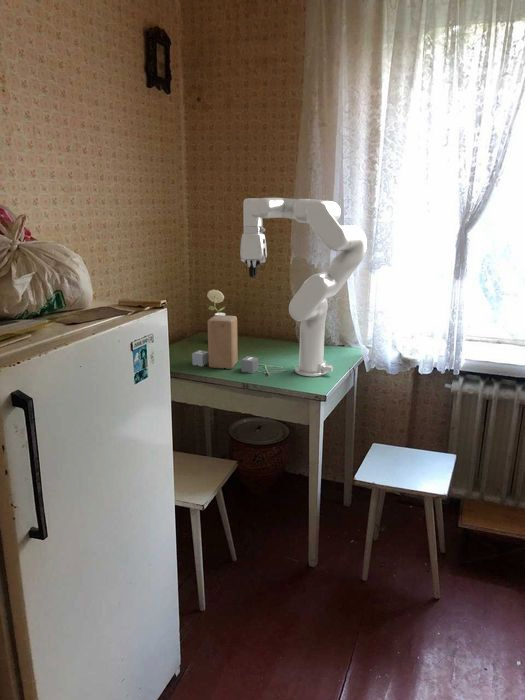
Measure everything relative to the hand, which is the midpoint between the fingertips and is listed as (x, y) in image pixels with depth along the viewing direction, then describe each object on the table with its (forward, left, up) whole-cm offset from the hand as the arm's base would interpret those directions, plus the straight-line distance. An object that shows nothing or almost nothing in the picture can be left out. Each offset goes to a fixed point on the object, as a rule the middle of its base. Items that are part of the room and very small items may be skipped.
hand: (253, 276), depth 212 cm
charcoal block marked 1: (-6, +14, -35) cm, 38 cm away
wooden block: (+7, +13, -35) cm, 38 cm away
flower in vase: (+27, -16, -35) cm, 47 cm away
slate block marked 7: (+16, +16, -35) cm, 42 cm away
